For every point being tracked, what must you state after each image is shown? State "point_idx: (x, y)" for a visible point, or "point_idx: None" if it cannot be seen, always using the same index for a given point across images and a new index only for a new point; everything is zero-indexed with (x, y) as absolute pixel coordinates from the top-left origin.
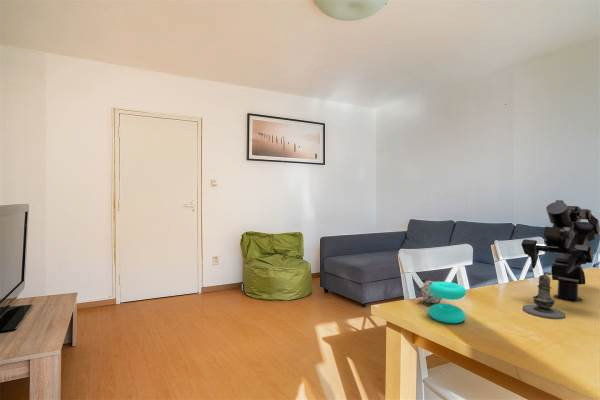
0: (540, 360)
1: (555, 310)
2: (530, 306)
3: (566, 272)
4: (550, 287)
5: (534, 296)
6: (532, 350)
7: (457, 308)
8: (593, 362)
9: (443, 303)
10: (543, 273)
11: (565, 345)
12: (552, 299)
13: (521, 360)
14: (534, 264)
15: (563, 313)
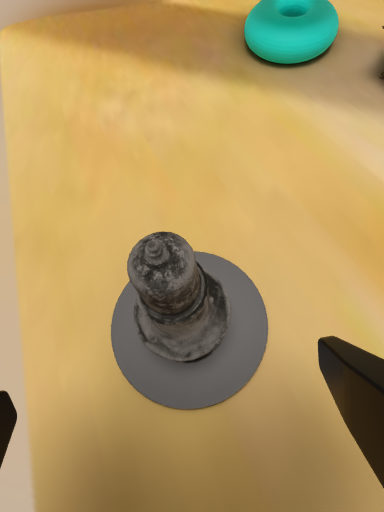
0: (69, 43)
1: (158, 372)
2: (244, 325)
3: (4, 392)
4: (139, 296)
5: (225, 304)
6: (91, 60)
7: (270, 16)
8: (4, 99)
9: (320, 12)
10: (160, 241)
11: (54, 123)
12: (144, 317)
13: (89, 24)
14: (340, 379)
15: (122, 357)
